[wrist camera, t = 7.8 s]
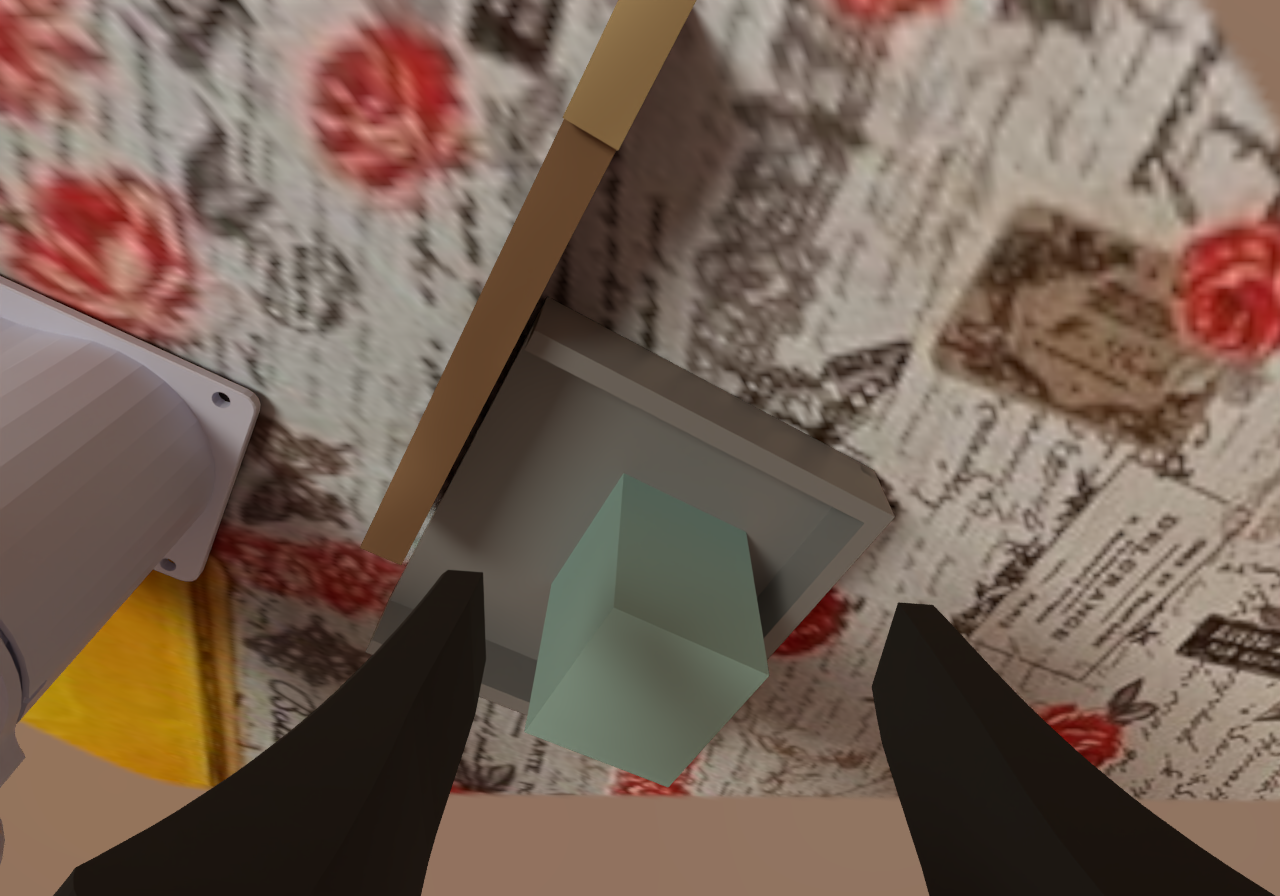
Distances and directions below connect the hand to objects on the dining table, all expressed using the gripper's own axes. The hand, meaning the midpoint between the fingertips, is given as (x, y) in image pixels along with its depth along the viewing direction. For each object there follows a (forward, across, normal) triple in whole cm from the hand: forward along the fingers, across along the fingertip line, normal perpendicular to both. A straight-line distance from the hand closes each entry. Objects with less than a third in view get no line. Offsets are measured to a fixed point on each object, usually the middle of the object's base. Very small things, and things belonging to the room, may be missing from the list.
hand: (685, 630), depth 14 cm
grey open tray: (+10, +1, +6) cm, 12 cm away
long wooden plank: (+10, +4, -3) cm, 11 cm away
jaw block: (+10, 0, +6) cm, 12 cm away
